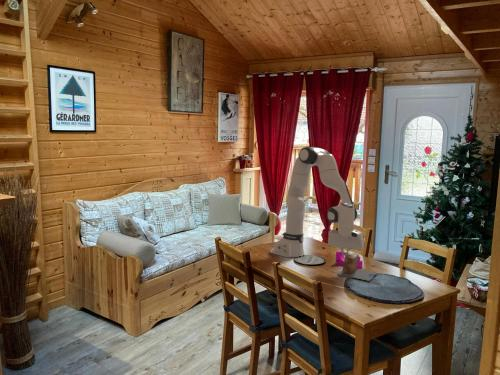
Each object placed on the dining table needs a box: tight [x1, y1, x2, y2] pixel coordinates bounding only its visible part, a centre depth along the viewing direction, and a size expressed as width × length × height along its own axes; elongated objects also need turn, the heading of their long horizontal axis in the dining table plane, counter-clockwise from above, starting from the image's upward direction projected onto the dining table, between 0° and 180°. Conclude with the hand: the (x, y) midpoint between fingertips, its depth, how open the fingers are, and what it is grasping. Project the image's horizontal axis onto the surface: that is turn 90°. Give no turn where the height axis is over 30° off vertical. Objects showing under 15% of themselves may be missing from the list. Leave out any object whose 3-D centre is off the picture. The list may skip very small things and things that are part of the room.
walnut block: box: [341, 250, 360, 274], centre depth 232 cm, size 5×9×10 cm, turn 147°
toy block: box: [335, 250, 364, 269], centre depth 247 cm, size 15×6×8 cm, turn 38°
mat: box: [336, 268, 379, 282], centre depth 231 cm, size 18×16×1 cm
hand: (344, 255), depth 234 cm, fingers closed
